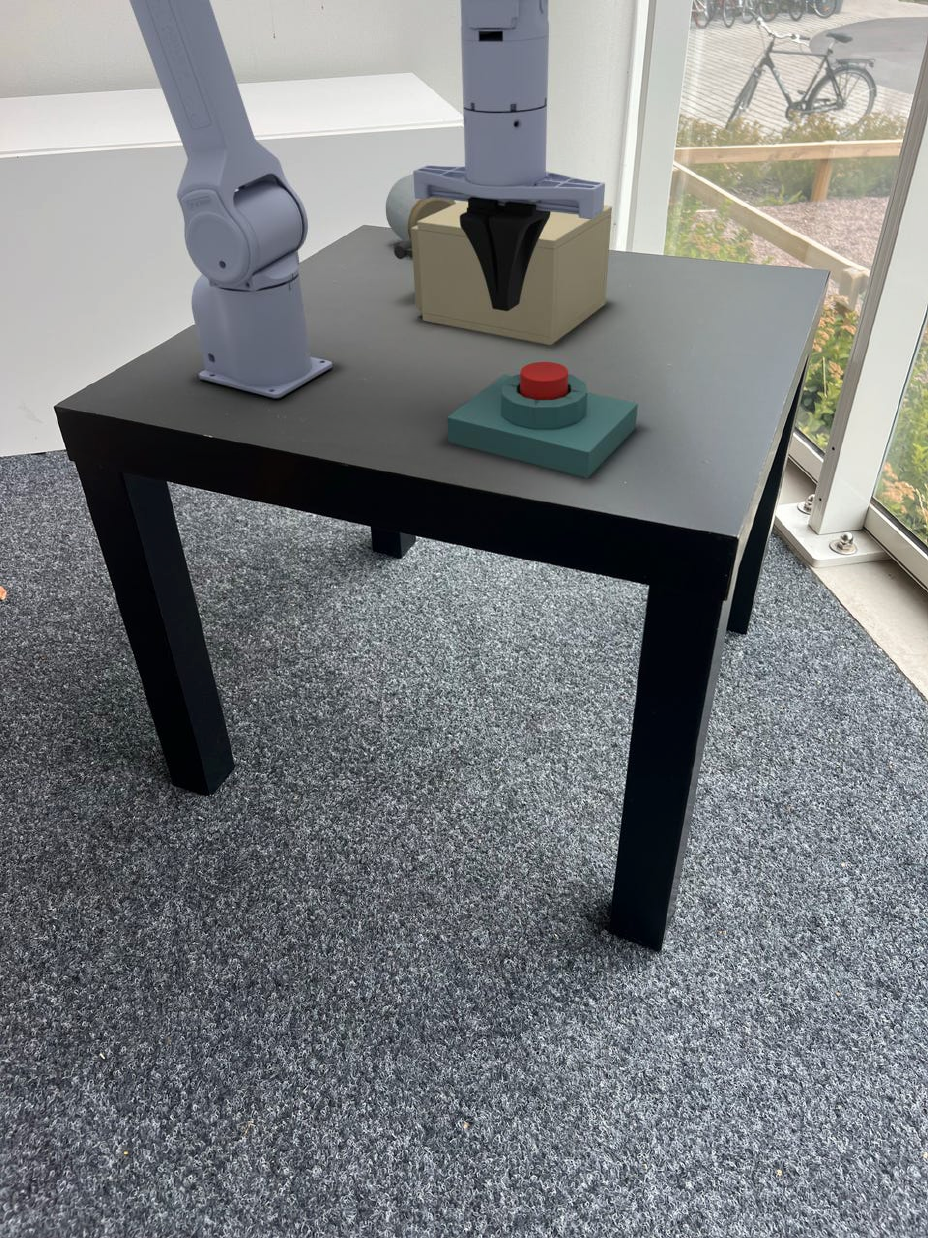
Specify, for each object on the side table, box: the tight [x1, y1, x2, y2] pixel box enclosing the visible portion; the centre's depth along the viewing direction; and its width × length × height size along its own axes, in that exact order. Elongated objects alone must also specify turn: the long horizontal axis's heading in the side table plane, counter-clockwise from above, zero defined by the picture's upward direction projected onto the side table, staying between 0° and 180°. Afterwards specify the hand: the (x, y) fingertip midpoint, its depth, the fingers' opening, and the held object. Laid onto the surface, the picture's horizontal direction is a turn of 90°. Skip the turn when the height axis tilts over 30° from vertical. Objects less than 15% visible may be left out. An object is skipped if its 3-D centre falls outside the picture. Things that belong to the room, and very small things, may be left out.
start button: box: [519, 361, 569, 400], centre depth 67 cm, size 4×4×2 cm
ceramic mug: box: [385, 173, 457, 242], centre depth 108 cm, size 11×8×8 cm
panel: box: [446, 373, 639, 479], centre depth 69 cm, size 12×9×4 cm
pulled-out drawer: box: [393, 225, 422, 310], centre depth 90 cm, size 18×11×8 cm, turn 59°
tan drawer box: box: [417, 201, 613, 346], centre depth 88 cm, size 15×13×10 cm
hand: (505, 306), depth 68 cm, fingers closed
